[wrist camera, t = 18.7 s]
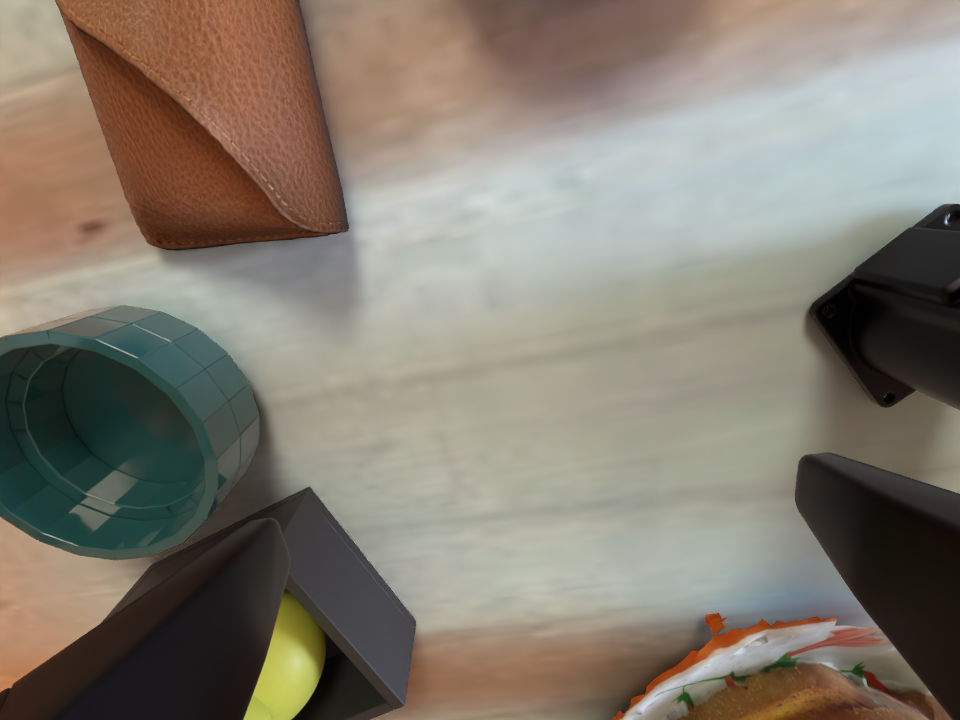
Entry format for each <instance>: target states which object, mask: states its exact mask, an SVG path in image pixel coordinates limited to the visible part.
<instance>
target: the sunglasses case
mask: <svg viewBox="0 0 960 720" xmlns="http://www.w3.org/2000/svg"><path fill="white" fill-rule="evenodd" d="M55 2H56V4H57V5H58V7H59V10H60V12H61V15H62V17H63V20H64V23H65V25H66V29H67V32H68V34H69V37H70V39H71V43H72V45H73V48H74V51H75V54H76V56H77V60H78V62H79V65H80V69H81V72H82V75H83V77H84V80H85V82H86V85H87V88H88V91H89V95H90V97H91V100H92V103H93V106H94V108H95V111H96V114H97V117H98V121H99V123H100V125H101V128H102V131H103V134H104V136H105V139H106V142H107V145H108V148H109V151H110V154H111V157H112V159H113V162H114V164H115V166H116V170H117V174H118V176H119V179H120V182H121V185H122V188H123V190H124V194H125V197H126V199H127V201H128V203H129V205H130V208H131V212H132V214H133V216H134V218H135V221H136V223H137V225H138V227H139V228H140V230H141V233H142V234H143V236H144V237H145V239H146V241H147V242H148V243H149V244H150V245H152V246H156V247H159V248H163V249H166V250H188V249H199V248H209V247H218V246H226V245H233V244H240V243H253V242H266V241H278V240H292V239H298V238H310V237H320V236H328V235H330V234H336V233H340V232H346V231H348V229H349V225H348V221H347V214H346V208H345V203H344V198H343V192H342V188H341V184H340V179H339V175H338V170H337V166H336V162H335V158H334V154H333V150H332V145H331V141H330V136H329V131H328V128H327V125H326V121H325V116H324V112H323V109H322V104H321V97H320V93H319V89H318V85H317V81H316V77H315V72H314V67H313V62H312V58H311V53H310V48H309V44H308V39H307V34H306V29H305V25H304V22H303V18H302V14H301V10H300V5H299V1H298V0H55Z"/></svg>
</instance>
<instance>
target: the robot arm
mask: <svg viewBox="0 0 960 720" xmlns="http://www.w3.org/2000/svg"><path fill="white" fill-rule="evenodd" d="M949 213H950V218H949V220H948V221H947V216H948V215H949ZM826 306H828V309H827V311H826V312H825V313H824V314H822V311H823V309H824V308H825V307H826ZM810 315H811V317H812V318H813V320H814V321H815V323H816V324H817V325H818V327H819V328H820V330H821V331H822V332H823V334H824V335H825V336H826V338H827V339H828V341H829V342H830V343H831V345H832V346H833V347H834V349H835V350H836V352H837V353H838V354H839V356H840V357H841V359H842V360H843V361H844V363H845V364H846V365H847V367H848V368H849V370H850V371H851V372H852V374H853V375H854V376H855V378H856V379H857V381H858V382H859V383H860V385H861V386H862V388H863V389H864V390H865V392H866V393H867V394H868V396H869V397H870V399H871V400H872V401H873V402H874V403H876V404H878V405H880V406H881V407H885V408H886V407H891V406H893V405H895V404H896V403H898V402H899V401H901V400H902V399H904V398H905V397H907V396H908V395H910V394H911V393H913V392H914V391H916V390H917V391H919V392H922V393H924V394H926V395H928V396H930V397H933V398H935V399H937V400H939V401H941V402H944V403H946V404H948V405H950V406H952V407H955V408H957V409H959V410H960V204H944V205H942V206H940V207H938V208H937V209H936V210H934V211H933V212H932V213H930V214H929V215H928V216H926V217H925V218H924V219H922V220H921V221H920V222H918V223H917V224H916V225H915V226H913V227H912V228H908V229H907V230H906V231H904V232H903V233H902V234H900V235H899V236H898V237H896V238H895V239H894V240H892V241H891V242H890V243H889V244H887V245H886V246H885V247H883V248H882V249H881V250H879V251H878V252H877V253H875V254H874V255H873V256H872V257H870V258H869V259H868V260H866V261H865V262H864V263H862V264H861V265H860V266H858V267H857V268H856V269H855V270H854V272H853V273H852V274H850V275H849V276H848V277H846V278H845V279H844V280H842V281H841V282H840V283H838V284H837V285H836V286H835V287H833V288H832V289H831V290H829V291H828V292H827V293H825V294H824V295H823V296H821V297H820V298H819V299H817V300H816V301H815V302H814V303H813V304H812V306H811V308H810ZM887 393H888V394H887ZM886 394H887V396H886V397H885V398H884V396H885V395H886ZM795 502H796V506H797V508H798V510H799V512H800V514H801V515H802V517H803V518H804V520H805V521H806V523H807V525H808V526H809V528H810V529H811V531H812V532H813V534H814V535H815V537H816V538H817V540H818V541H819V543H820V544H821V546H822V548H823V549H824V551H825V552H826V554H827V555H828V557H829V558H830V560H831V561H832V563H833V564H834V566H835V568H836V569H837V571H838V572H839V574H840V575H841V577H842V578H843V580H844V581H845V583H846V584H847V586H848V587H849V588H850V590H851V591H852V593H853V594H854V596H855V597H856V598H857V600H858V601H859V602H860V604H861V605H862V606H863V608H864V609H865V610H866V612H867V613H868V614H869V615H870V617H871V618H872V619H873V620H874V622H875V623H876V624H877V625H878V627H879V628H880V629H881V630H882V632H883V633H884V634H885V636H886V637H887V638H888V639H889V641H890V642H891V643H892V644H893V646H894V647H895V648H896V649H897V651H898V652H899V653H900V655H901V656H902V657H903V658H904V660H905V661H906V662H907V663H908V665H909V666H910V667H911V668H912V670H913V671H914V672H915V674H916V675H917V676H918V677H919V679H920V680H921V681H922V682H923V684H924V685H925V686H926V687H927V689H928V690H929V691H930V693H931V694H932V695H933V696H934V698H935V699H936V700H937V701H938V703H939V704H940V705H941V706H942V708H943V709H944V710H945V711H946V713H947V714H948V715H949V717H950V718H951V719H952V720H960V494H958V493H955V492H952V491H949V490H946V489H942V488H939V487H936V486H933V485H930V484H927V483H924V482H921V481H917V480H914V479H911V478H908V477H905V476H902V475H899V474H895V473H892V472H889V471H886V470H883V469H880V468H877V467H874V466H870V465H867V464H864V463H861V462H858V461H855V460H852V459H848V458H845V457H842V456H839V455H836V454H833V453H817V454H809V455H804V456H803V457H802V458H801V459H800V460H799V464H798V472H797V480H796V489H795ZM289 570H290V555H289V551H288V548H287V545H286V542H285V539H284V537H283V534H282V531H281V528H280V525H279V523H278V522H277V520H275V519H273V518H267V519H259V520H252V521H249V522H248V523H246V524H245V525H243V526H242V527H240V528H239V529H238V530H236V531H235V532H233V533H232V534H230V535H229V536H227V537H226V538H224V539H223V540H222V541H220V542H219V543H217V544H216V545H214V546H213V547H211V548H210V549H208V550H207V551H206V552H204V553H203V554H201V555H200V556H198V557H197V558H195V559H194V560H192V561H191V562H190V563H188V564H187V565H185V566H184V567H182V568H181V569H179V570H178V571H177V572H175V573H174V574H172V575H171V576H169V577H168V578H166V579H165V580H163V581H162V582H161V583H159V584H158V585H156V586H155V587H153V588H152V589H150V590H149V591H147V592H146V593H145V594H143V595H142V596H140V597H139V598H137V599H136V600H134V601H133V602H131V603H130V604H129V605H127V606H126V607H124V608H123V609H121V610H120V611H118V612H117V613H115V614H114V615H113V616H111V617H110V618H108V619H107V620H105V621H104V622H102V623H101V624H99V625H98V626H97V627H95V628H94V629H92V630H91V631H89V632H88V633H86V634H85V635H83V636H82V637H81V638H79V639H78V640H76V641H75V642H73V643H72V644H70V645H69V646H67V647H66V648H65V649H63V650H62V651H60V652H59V653H57V654H56V655H54V656H53V657H51V658H50V659H49V660H47V661H46V662H44V663H43V664H41V665H40V666H38V667H37V668H35V669H34V670H33V671H31V672H30V673H28V674H27V675H25V676H24V677H22V678H21V679H19V680H18V681H17V682H15V683H14V684H13V686H12V688H7V689H5V690H3V691H2V692H0V720H244V717H245V714H246V712H247V709H248V706H249V703H250V701H251V698H252V695H253V693H254V690H255V687H256V684H257V682H258V679H259V676H260V674H261V671H262V668H263V665H264V662H265V659H266V656H267V653H268V649H269V646H270V642H271V638H272V635H273V631H274V627H275V623H276V619H277V616H278V612H279V608H280V604H281V600H282V597H283V593H284V589H285V585H286V581H287V578H288V574H289Z"/></svg>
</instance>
